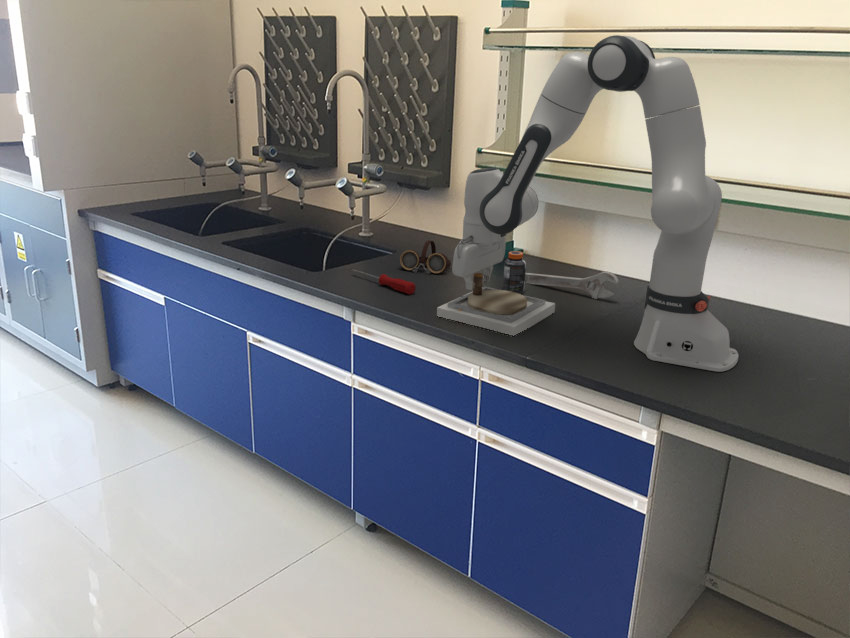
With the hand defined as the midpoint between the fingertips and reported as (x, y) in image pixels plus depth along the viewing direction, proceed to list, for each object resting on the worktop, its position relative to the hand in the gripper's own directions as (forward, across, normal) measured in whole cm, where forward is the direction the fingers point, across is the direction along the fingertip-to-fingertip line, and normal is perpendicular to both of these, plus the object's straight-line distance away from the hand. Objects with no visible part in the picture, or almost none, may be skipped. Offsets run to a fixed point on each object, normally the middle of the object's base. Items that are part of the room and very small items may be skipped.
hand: (477, 285), depth 185 cm
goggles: (+7, +24, +32) cm, 41 cm away
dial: (+4, 0, -6) cm, 7 cm away
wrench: (+7, +29, -12) cm, 32 cm away
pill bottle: (+7, +20, 0) cm, 21 cm away
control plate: (+7, 0, -6) cm, 9 cm away
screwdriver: (+7, +1, +33) cm, 33 cm away
